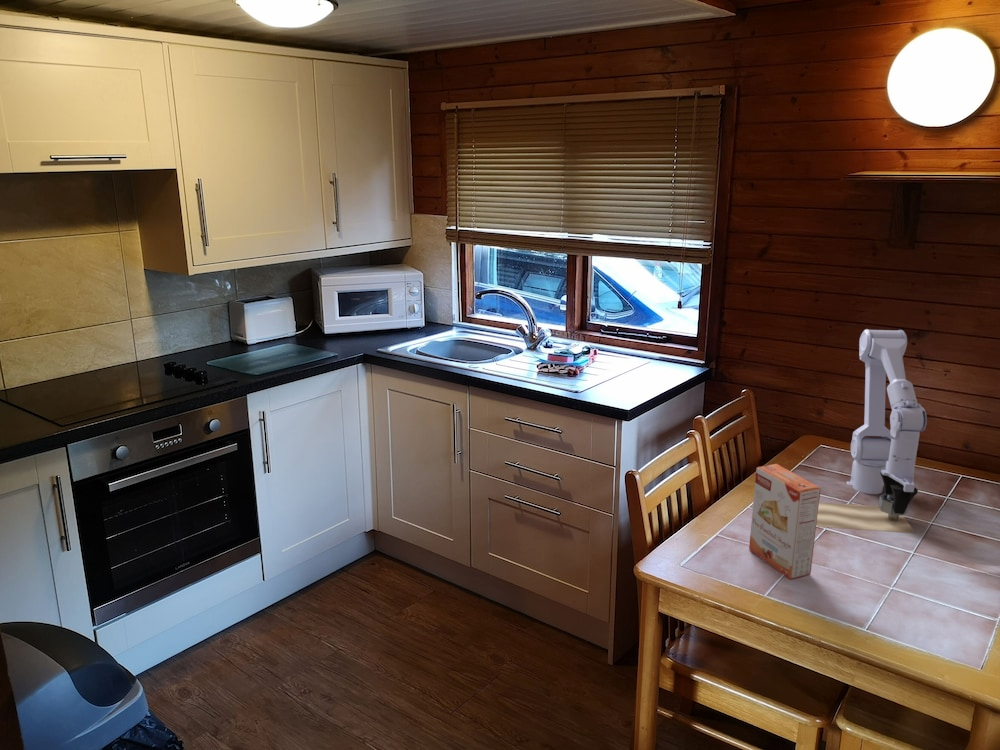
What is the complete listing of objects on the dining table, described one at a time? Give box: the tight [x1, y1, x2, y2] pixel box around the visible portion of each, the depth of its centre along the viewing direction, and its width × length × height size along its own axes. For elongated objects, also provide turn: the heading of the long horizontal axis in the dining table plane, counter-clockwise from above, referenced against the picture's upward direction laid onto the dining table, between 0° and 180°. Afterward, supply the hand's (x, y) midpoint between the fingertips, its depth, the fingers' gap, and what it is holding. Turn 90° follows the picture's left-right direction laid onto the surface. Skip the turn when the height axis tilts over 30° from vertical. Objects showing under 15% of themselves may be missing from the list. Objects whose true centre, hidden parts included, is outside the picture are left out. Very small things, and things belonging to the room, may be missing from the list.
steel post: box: [888, 500, 899, 521], centre depth 189 cm, size 3×2×4 cm
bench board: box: [816, 501, 916, 534], centre depth 192 cm, size 14×22×1 cm, turn 81°
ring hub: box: [878, 492, 910, 516], centre depth 189 cm, size 6×6×3 cm
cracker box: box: [748, 463, 822, 580], centre depth 170 cm, size 14×6×21 cm, turn 21°
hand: (894, 507), depth 189 cm, fingers closed on ring hub, 6 cm apart
